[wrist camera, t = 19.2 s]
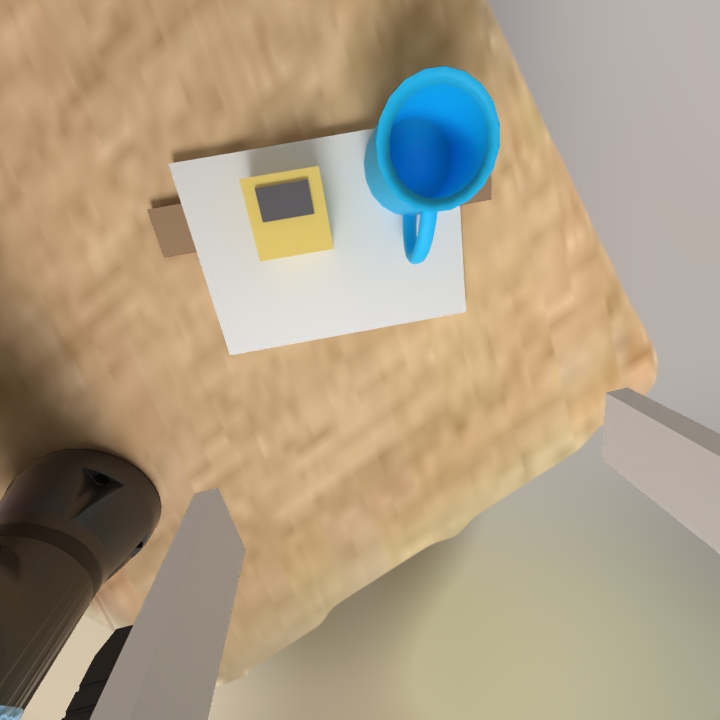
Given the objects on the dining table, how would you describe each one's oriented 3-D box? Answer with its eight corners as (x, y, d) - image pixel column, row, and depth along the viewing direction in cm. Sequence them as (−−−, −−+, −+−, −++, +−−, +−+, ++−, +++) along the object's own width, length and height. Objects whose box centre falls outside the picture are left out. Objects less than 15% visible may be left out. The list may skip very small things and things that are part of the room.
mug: (364, 106, 28) (378, 62, 21) (462, 111, 29) (510, 69, 22) (362, 259, 33) (372, 269, 25) (447, 260, 33) (482, 270, 26)
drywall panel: (204, 356, 36) (200, 360, 35) (139, 172, 30) (131, 170, 29) (489, 304, 36) (494, 306, 35) (484, 112, 30) (489, 108, 29)
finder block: (268, 257, 32) (259, 262, 28) (250, 185, 30) (238, 178, 26) (333, 246, 32) (333, 249, 28) (319, 173, 30) (318, 165, 26)
